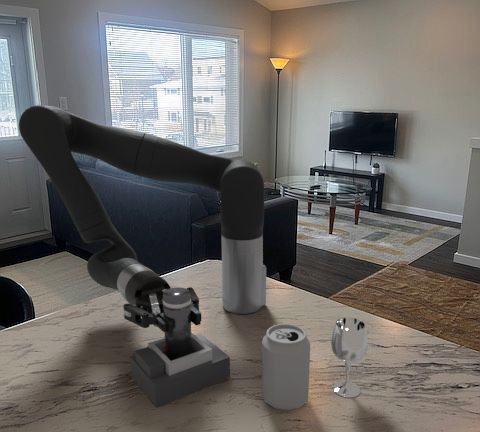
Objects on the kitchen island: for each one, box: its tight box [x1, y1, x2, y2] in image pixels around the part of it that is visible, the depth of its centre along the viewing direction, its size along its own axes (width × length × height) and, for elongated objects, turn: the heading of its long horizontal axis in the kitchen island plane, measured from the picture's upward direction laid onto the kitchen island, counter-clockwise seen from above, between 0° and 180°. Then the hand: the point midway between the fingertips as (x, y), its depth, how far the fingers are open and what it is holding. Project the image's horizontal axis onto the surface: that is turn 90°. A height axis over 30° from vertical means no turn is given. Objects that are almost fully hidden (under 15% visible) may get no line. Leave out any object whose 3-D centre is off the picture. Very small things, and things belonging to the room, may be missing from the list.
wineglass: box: [330, 316, 369, 399], centre depth 78 cm, size 6×6×12 cm
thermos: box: [163, 286, 192, 359], centre depth 80 cm, size 5×5×11 cm
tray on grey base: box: [129, 331, 231, 408], centre depth 82 cm, size 14×10×6 cm
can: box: [261, 323, 311, 412], centre depth 75 cm, size 8×8×12 cm
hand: (185, 323), depth 78 cm, fingers closed on thermos, 4 cm apart
